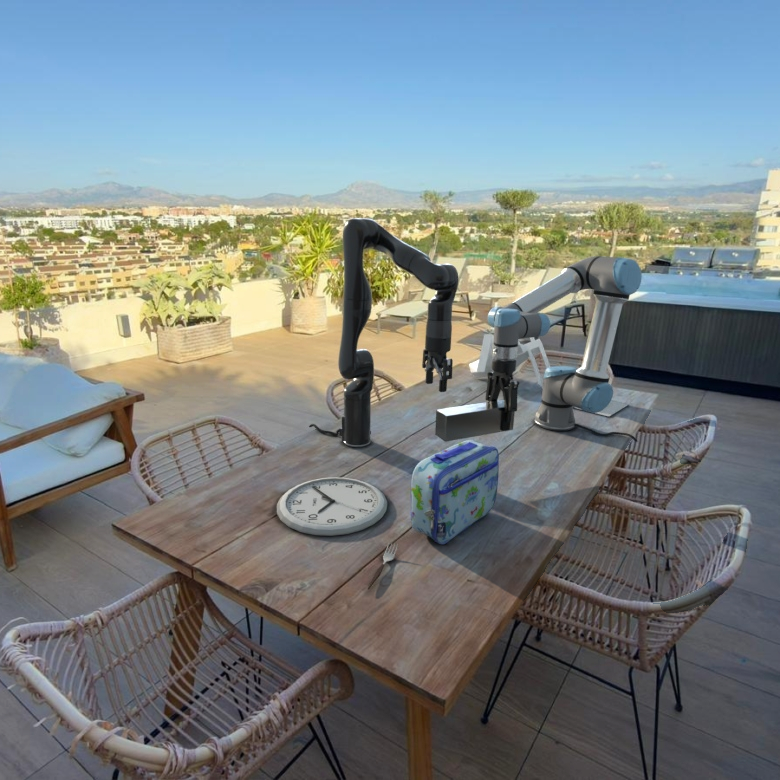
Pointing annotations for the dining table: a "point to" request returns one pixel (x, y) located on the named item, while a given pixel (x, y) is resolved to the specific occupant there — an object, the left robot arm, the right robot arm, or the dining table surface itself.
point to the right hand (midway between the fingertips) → (498, 426)
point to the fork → (386, 558)
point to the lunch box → (453, 489)
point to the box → (470, 420)
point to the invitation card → (610, 408)
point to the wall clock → (331, 506)
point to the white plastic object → (523, 352)
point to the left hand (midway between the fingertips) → (435, 387)
